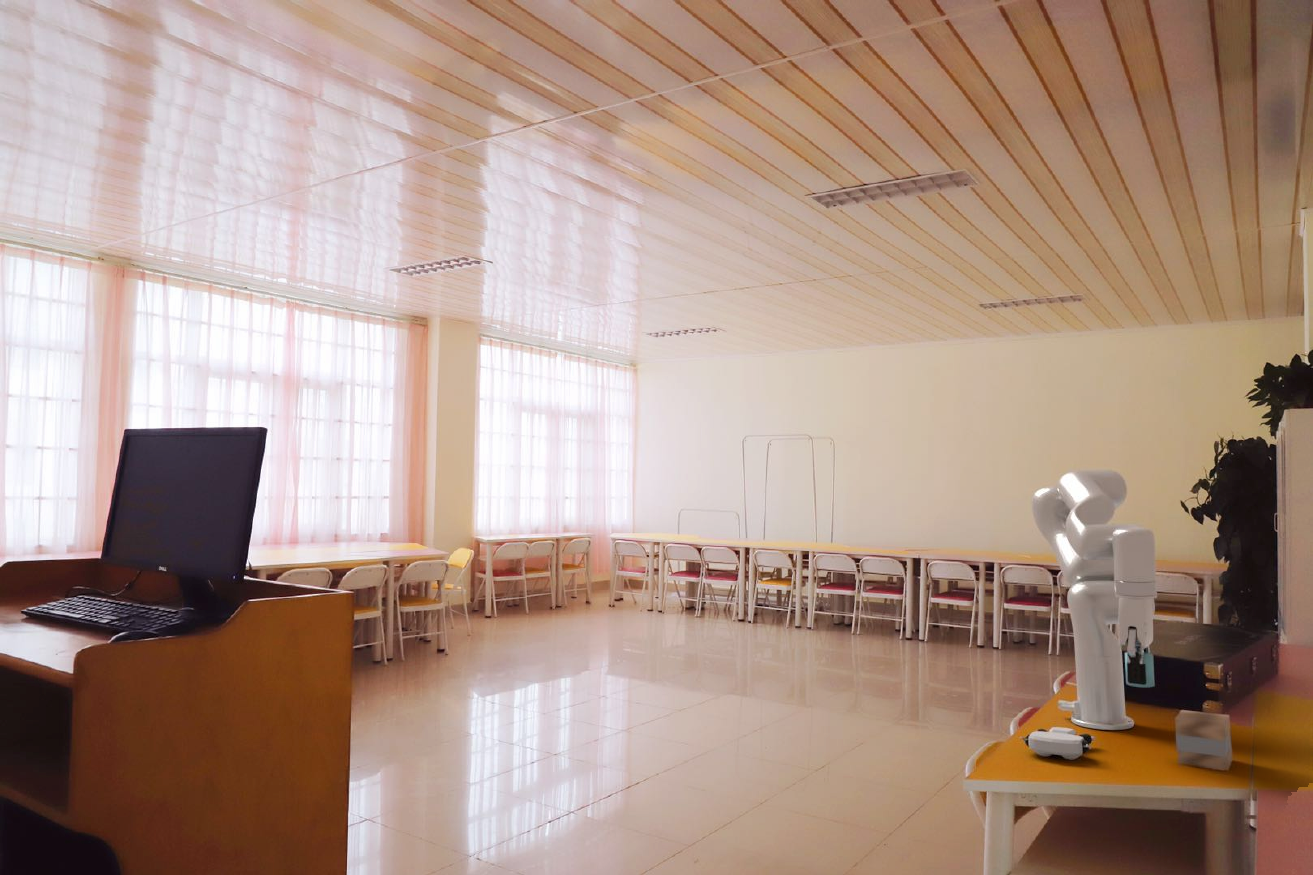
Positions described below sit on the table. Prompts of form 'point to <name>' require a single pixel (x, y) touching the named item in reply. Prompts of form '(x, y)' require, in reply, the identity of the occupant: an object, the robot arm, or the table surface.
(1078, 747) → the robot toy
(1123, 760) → the table surface
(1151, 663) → the teal open box
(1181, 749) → the slab middle
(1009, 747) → the table surface
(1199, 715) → the slab top
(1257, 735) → the table surface
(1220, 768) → the slab bottom
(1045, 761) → the table surface
